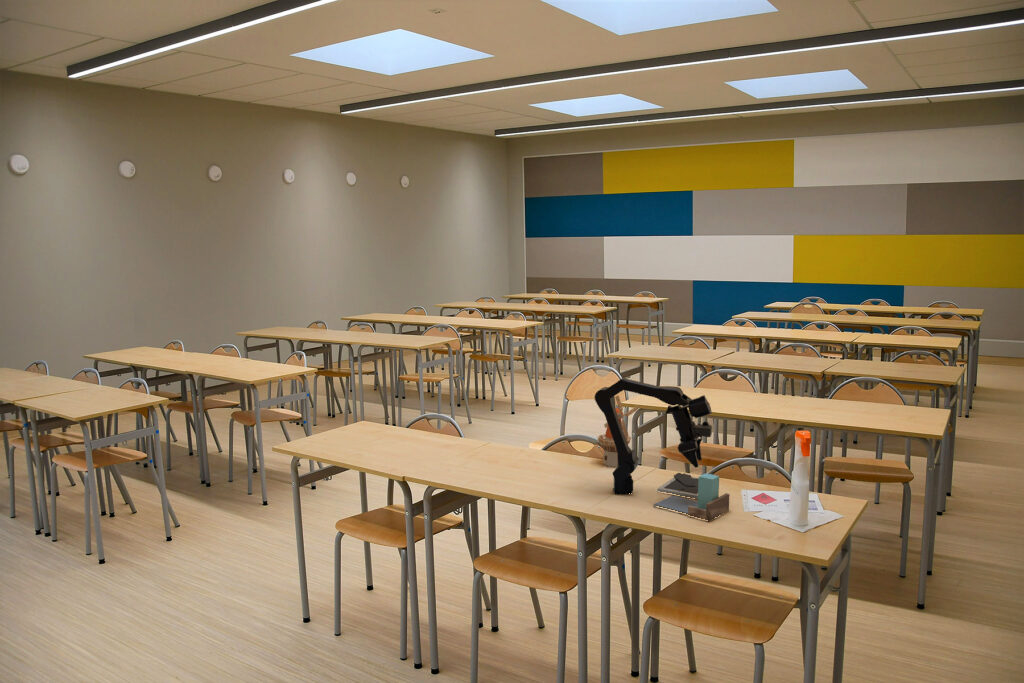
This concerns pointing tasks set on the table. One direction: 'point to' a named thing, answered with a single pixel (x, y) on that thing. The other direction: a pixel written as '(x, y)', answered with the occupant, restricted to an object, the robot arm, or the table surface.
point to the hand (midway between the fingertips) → (698, 463)
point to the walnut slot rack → (711, 508)
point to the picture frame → (681, 486)
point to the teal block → (707, 489)
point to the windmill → (608, 442)
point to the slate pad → (677, 503)
